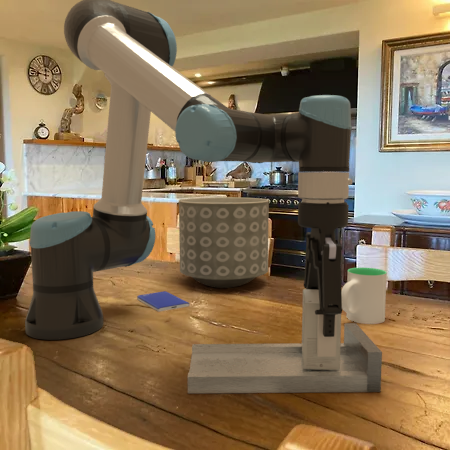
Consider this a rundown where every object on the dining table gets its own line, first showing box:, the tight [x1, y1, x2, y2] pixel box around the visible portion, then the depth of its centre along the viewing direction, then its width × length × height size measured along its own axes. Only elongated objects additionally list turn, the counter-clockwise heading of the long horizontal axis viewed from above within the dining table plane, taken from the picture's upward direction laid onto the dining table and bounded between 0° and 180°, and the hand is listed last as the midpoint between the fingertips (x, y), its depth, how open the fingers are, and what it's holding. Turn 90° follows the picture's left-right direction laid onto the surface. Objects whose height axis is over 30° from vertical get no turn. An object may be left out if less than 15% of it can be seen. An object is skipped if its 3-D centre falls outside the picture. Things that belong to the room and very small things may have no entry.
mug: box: [341, 267, 387, 325], centre depth 102 cm, size 12×8×10 cm
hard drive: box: [136, 290, 190, 312], centre depth 116 cm, size 2×8×12 cm
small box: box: [301, 288, 342, 371], centre depth 75 cm, size 8×6×10 cm
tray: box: [187, 322, 383, 394], centre depth 75 cm, size 28×13×6 cm, turn 91°
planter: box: [178, 196, 270, 289], centre depth 135 cm, size 25×25×24 cm
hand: (319, 344), depth 75 cm, fingers closed on small box, 8 cm apart
